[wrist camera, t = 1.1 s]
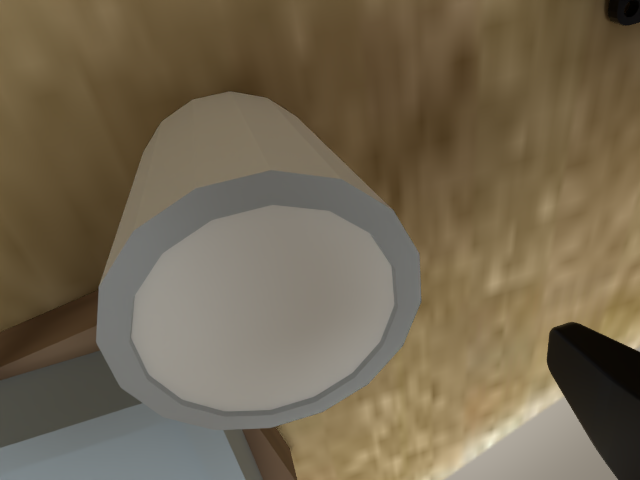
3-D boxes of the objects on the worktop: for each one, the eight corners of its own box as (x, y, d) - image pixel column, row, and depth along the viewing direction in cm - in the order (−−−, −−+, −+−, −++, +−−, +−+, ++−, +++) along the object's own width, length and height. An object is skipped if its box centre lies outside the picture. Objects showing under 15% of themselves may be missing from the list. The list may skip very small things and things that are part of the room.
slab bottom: (166, 250, 18) (167, 295, 16) (286, 437, 25) (298, 484, 23) (-163, 392, 18) (-204, 455, 16) (52, 541, 25) (43, 598, 23)
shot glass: (68, 129, 15) (9, 274, 9) (295, 30, 15) (380, 110, 9) (185, 298, 19) (195, 473, 13) (362, 219, 19) (451, 359, 13)
